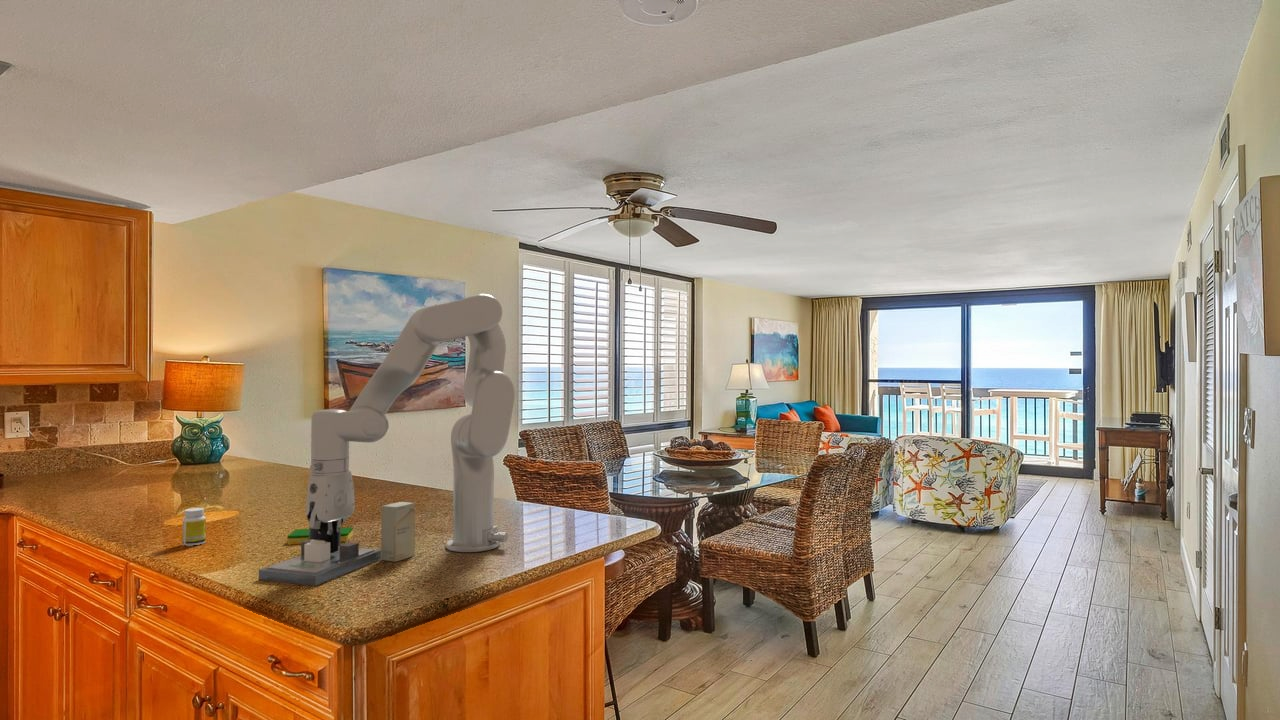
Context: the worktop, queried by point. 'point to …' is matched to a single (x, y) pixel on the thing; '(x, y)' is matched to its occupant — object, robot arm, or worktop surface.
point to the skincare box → (398, 531)
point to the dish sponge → (303, 535)
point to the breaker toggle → (317, 551)
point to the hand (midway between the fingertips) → (329, 551)
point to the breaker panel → (320, 565)
